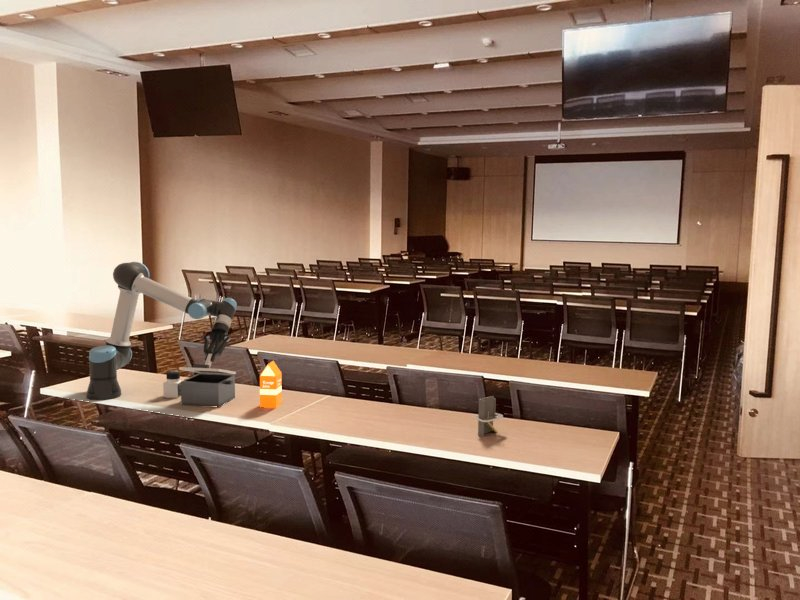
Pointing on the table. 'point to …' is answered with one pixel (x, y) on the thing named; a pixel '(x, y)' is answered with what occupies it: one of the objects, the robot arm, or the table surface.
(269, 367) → the orange juice
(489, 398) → the architectural model
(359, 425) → the table surface
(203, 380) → the grey storage box
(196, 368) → the gray box lid
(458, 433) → the table surface
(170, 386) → the medicine bottle
